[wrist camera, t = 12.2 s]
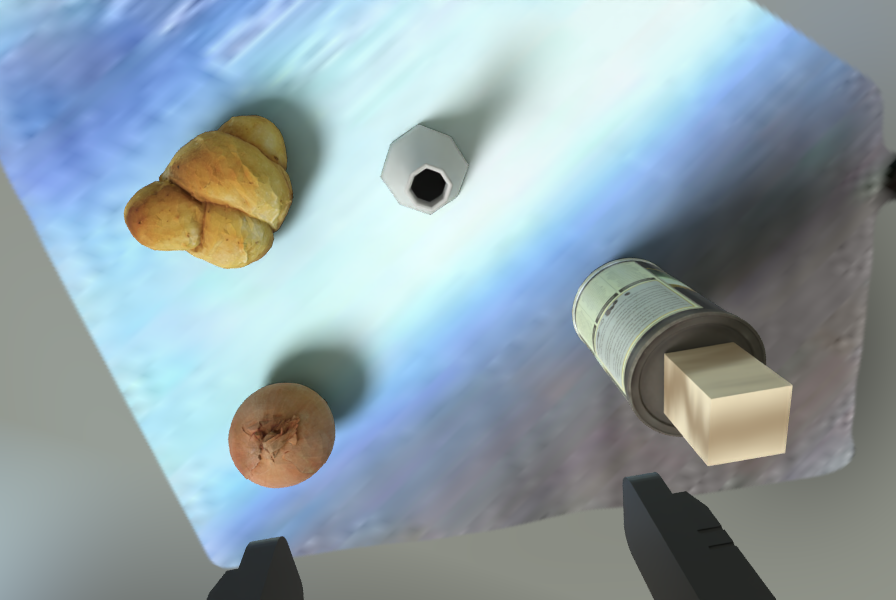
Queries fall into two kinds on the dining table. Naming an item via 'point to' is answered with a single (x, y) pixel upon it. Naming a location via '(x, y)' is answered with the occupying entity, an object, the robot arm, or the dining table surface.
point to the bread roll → (218, 195)
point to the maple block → (726, 403)
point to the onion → (281, 435)
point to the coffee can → (650, 330)
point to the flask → (424, 169)
